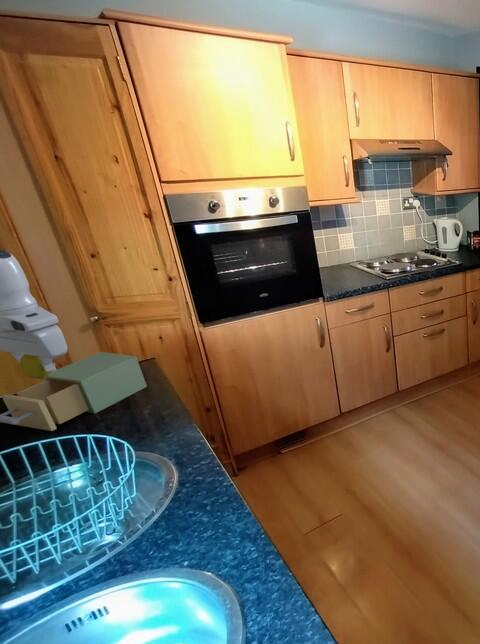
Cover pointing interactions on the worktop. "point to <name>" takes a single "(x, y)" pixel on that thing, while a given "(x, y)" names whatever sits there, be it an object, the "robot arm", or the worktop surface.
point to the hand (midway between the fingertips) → (38, 368)
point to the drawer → (45, 404)
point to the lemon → (33, 367)
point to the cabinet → (103, 378)
